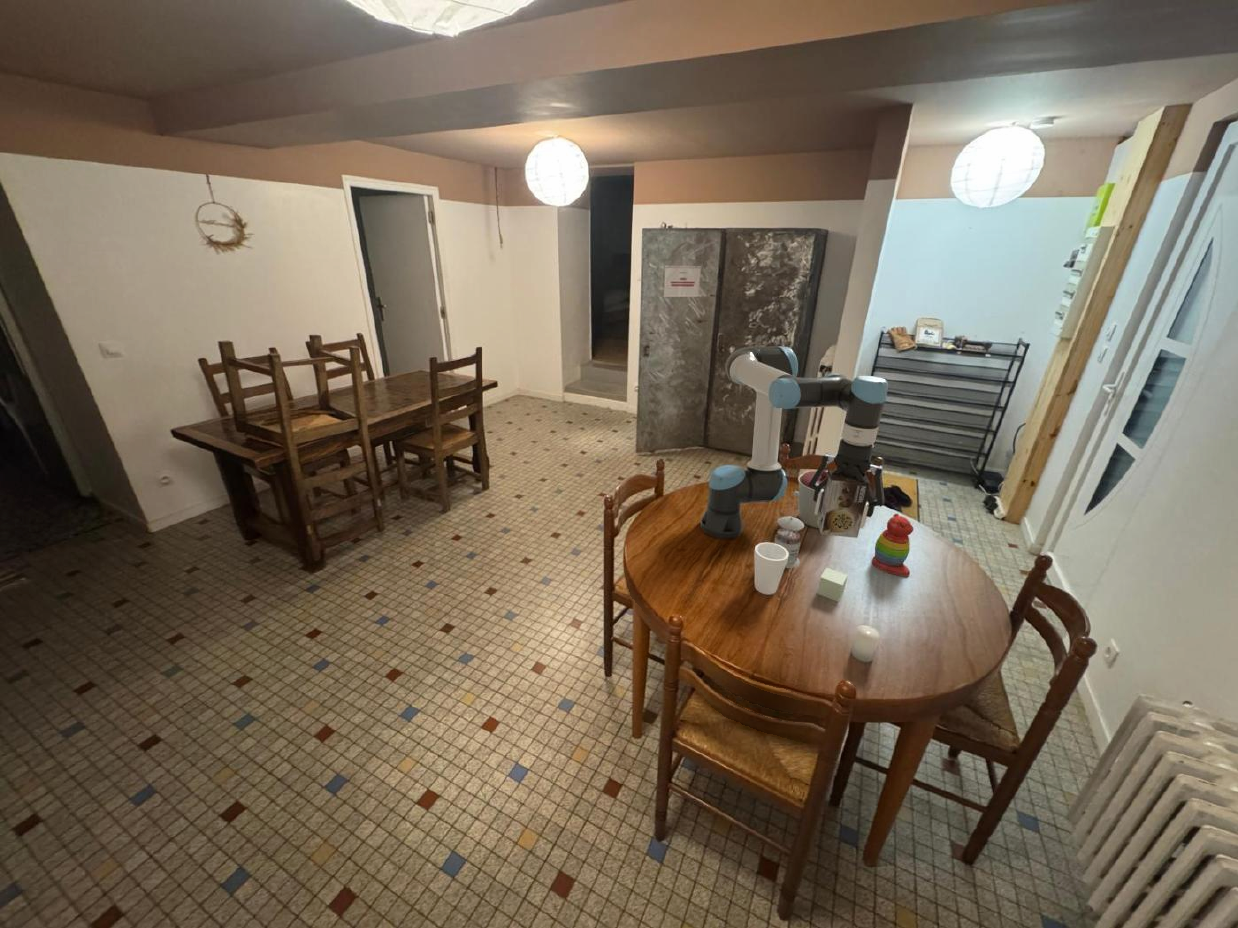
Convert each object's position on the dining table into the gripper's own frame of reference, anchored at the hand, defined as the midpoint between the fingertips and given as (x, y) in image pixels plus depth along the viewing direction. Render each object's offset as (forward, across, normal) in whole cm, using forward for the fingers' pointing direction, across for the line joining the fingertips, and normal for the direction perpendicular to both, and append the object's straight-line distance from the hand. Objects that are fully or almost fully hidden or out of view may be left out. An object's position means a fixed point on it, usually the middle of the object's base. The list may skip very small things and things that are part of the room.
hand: (839, 519), depth 123 cm
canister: (+28, -15, +47) cm, 57 cm away
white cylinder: (+28, +14, -13) cm, 34 cm away
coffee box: (+4, 0, 0) cm, 4 cm away
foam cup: (+28, -15, -3) cm, 32 cm away
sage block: (+28, +1, +7) cm, 29 cm away
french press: (+28, -16, +16) cm, 36 cm away
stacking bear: (+28, +12, +33) cm, 45 cm away
